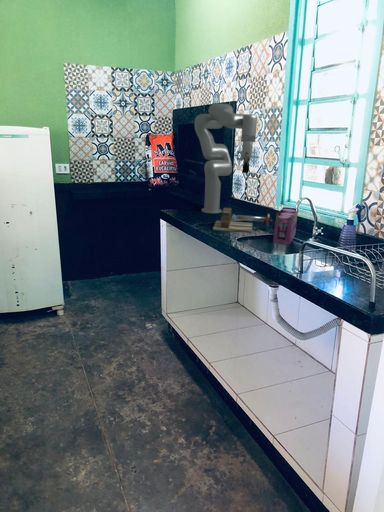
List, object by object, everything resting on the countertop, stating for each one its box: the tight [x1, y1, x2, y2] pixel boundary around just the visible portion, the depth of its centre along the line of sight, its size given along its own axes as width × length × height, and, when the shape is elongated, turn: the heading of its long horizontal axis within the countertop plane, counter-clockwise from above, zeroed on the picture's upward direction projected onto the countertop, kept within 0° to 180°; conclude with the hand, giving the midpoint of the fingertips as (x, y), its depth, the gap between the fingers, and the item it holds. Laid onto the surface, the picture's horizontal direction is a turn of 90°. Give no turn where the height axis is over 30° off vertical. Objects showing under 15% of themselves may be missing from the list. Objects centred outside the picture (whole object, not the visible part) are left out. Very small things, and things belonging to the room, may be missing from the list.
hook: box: [235, 213, 274, 227], centre depth 215 cm, size 6×19×6 cm, turn 81°
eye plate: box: [212, 207, 253, 234], centre depth 217 cm, size 18×20×9 cm
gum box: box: [272, 206, 299, 246], centre depth 198 cm, size 24×8×14 cm, turn 159°
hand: (245, 171), depth 220 cm, fingers open, 9 cm apart
